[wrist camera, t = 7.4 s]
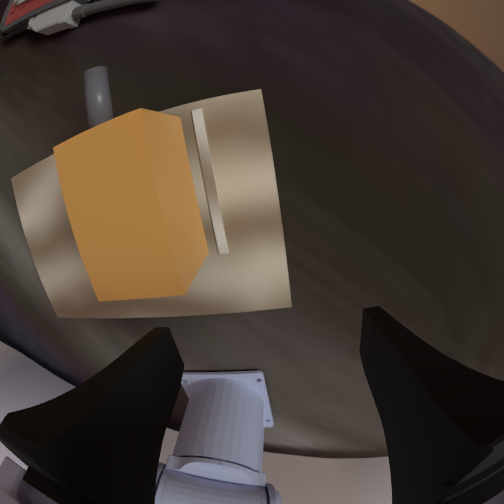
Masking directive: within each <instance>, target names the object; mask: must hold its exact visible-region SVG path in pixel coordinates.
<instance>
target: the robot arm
mask: <svg viewBox="0 0 504 504" xmlns="http://www.w3.org/2000/svg"><path fill="white" fill-rule="evenodd" d="M359 351H360V355H361V360H362V364H363V368H364V372H365V376H366V378H367V381H368V384H369V387H370V390H371V392H372V395H373V398H374V401H375V404H376V406H377V409H378V412H379V415H380V418H381V421H382V425H383V429H384V433H385V439H386V444H387V450H388V457H389V464H390V472H391V484H392V504H504V381H501V380H498V379H495V378H492V377H490V376H487V375H484V374H482V373H480V372H477V371H475V370H473V369H471V368H468V367H466V366H464V365H462V364H460V363H459V362H457V361H455V360H453V359H451V358H450V357H448V356H446V355H444V354H443V353H441V352H439V351H438V350H436V349H435V348H433V347H432V346H430V345H429V344H427V343H426V342H425V341H423V340H422V339H420V338H419V337H418V336H416V335H415V334H414V333H412V332H411V331H410V330H408V329H407V328H406V327H405V326H403V325H402V324H401V323H399V322H398V321H397V320H396V319H394V318H393V317H392V316H391V315H389V314H388V313H387V312H386V311H384V310H383V309H382V308H381V307H379V306H377V307H371V308H365V309H363V316H362V329H361V341H360V350H359ZM183 370H184V363H183V361H182V358H181V356H180V354H179V351H178V349H177V346H176V344H175V342H174V339H173V337H172V334H171V331H170V329H169V327H160V328H154V329H153V330H151V331H150V332H148V333H147V334H146V335H145V336H143V337H142V338H141V339H140V340H139V341H137V342H136V343H135V344H134V345H133V346H131V347H130V348H129V349H128V350H127V351H125V352H124V353H123V354H122V355H121V356H119V357H118V358H117V359H116V360H114V361H113V362H112V363H111V364H109V365H108V366H107V367H105V368H104V369H103V370H101V371H100V372H99V373H97V374H96V375H95V376H93V377H92V378H90V379H89V380H87V381H85V382H84V383H82V384H81V385H79V386H77V387H76V388H74V389H72V390H70V391H68V392H66V393H64V394H62V395H60V396H58V397H56V398H54V399H52V400H49V401H47V402H44V403H42V404H39V405H36V406H33V407H30V408H26V409H23V410H19V411H15V412H11V413H8V414H7V415H6V416H5V418H4V419H3V421H2V422H1V424H0V441H1V442H2V443H3V444H4V445H5V446H6V447H7V448H8V449H9V450H10V451H11V452H12V453H13V454H14V455H16V456H17V457H18V458H19V459H20V460H21V461H22V462H24V463H25V464H26V465H27V466H28V469H27V471H26V470H25V469H23V468H22V467H20V466H19V465H18V464H16V463H15V462H14V461H13V460H11V459H10V458H9V457H5V459H4V461H3V462H2V464H1V466H0V504H282V503H281V498H280V494H279V492H278V491H277V490H276V489H275V487H274V486H273V485H272V484H268V483H265V479H266V474H265V473H260V472H261V469H262V458H263V441H264V427H272V426H273V425H274V422H273V417H272V413H271V408H270V403H269V398H268V393H267V389H266V384H265V379H264V374H263V372H262V371H259V370H255V371H235V372H183ZM181 384H182V386H183V388H184V390H185V392H186V394H187V396H188V398H189V401H188V404H187V408H186V411H185V414H184V418H183V421H182V424H181V428H180V431H179V435H178V438H177V442H176V445H175V449H174V452H173V455H169V457H168V460H167V463H166V464H163V463H159V457H160V452H161V446H162V441H163V437H164V434H165V430H166V427H167V425H168V422H169V419H170V416H171V413H172V410H173V407H174V404H175V401H176V398H177V395H178V392H179V389H180V386H181Z"/></svg>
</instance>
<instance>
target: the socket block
mask: <svg viewBox="0 0 504 504" xmlns="http://www.w3.org/2000/svg"><path fill="white" fill-rule="evenodd" d="M83 79H84V91H85V101H86V109H87V117H88V124H89V130H87V131H85V132H82V133H80V134H78V135H76V136H74V137H72V138H70V139H68V140H66V141H65V142H63V143H61V144H59V145H57V146H55V147H53V150H54V156H55V161H56V167H57V172H58V176H59V181H60V185H61V190H62V194H63V198H64V202H65V206H66V210H67V213H68V217H69V220H70V224H71V227H72V230H73V234H74V237H75V240H76V243H77V246H78V249H79V252H80V255H81V258H82V260H83V263H84V266H85V269H86V271H87V274H88V276H89V279H90V281H91V284H92V286H93V289H94V291H95V294H96V296H97V298H98V301H116V300H130V299H144V298H156V297H168V296H179V295H186V293H187V291H188V289H189V287H190V285H191V284H192V282H193V280H194V278H195V276H196V274H197V272H198V271H199V269H200V267H201V265H202V263H203V262H204V260H205V258H206V256H207V254H208V253H209V250H208V245H207V241H206V237H205V233H204V229H203V224H202V220H201V215H200V211H199V207H198V202H197V197H196V193H195V188H194V184H193V179H192V174H191V169H190V164H189V159H188V154H187V149H186V144H185V139H184V134H183V128H182V123H181V117H177V116H173V115H169V114H164V113H160V112H156V111H151V110H146V109H142V108H140V109H137V110H134V111H131V112H129V113H126V114H124V115H121V116H119V117H116V118H113V111H112V104H111V97H110V89H109V80H108V70H107V67H105V66H98V67H94V68H91V69H89V70H87V71H85V72H84V74H83Z"/></svg>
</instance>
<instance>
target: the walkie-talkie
mask: <svg viewBox="0 0 504 504" xmlns="http://www.w3.org/2000/svg"><path fill="white" fill-rule="evenodd" d="M90 1H91V0H10V2H9V4H8V6H7V9H6V11H5V13H4V16H3V18H2V21H1V24H0V29H1V30H2V32H3V33H2V35H1V38H2V39H5V40H6V39H9V38H11V37H12V36H14V35H17V34H20V32H23V31H26V29H30V30H34V31H36V32H38V33H42V34H45V35H50V34H53V33H56V32H59V31H62V30H65V29H68V28H70V29H72V28H75V27H78V25H79V22H80V20H81V19H82V18H85V17H87V16H89V15H90V14H94V13H98V12H102V11H106V10H110V9H115V8H120V7H125V6H127V5H132V4H138V3H144V2H151V1H157V0H102V1H98V2H95V3H91V4H89V3H90ZM7 33H9V34H7Z"/></svg>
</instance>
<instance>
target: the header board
mask: <svg viewBox="0 0 504 504" xmlns="http://www.w3.org/2000/svg"><path fill="white" fill-rule="evenodd" d="M160 113H164V114H169V115H173V116H177V117H181V123H182V128H183V134H184V139H185V144H186V149H187V154H188V159H189V164H190V169H191V174H192V179H193V184H194V188H195V193H196V197H197V202H198V207H199V211H200V215H201V220H202V224H203V229H204V233H205V237H206V241H207V245H208V250H209V253H208V254H207V256H206V258H205V260H204V262H203V263H202V265H201V267H200V269H199V271H198V272H197V274H196V276H195V278H194V280H193V282H192V284H191V285H190V287H189V289H188V291H187V293H186V295H179V296H168V297H156V298H144V299H130V300H116V301H98V298H97V296H96V294H95V291H94V289H93V286H92V284H91V281H90V279H89V276H88V274H87V271H86V269H85V266H84V263H83V260H82V258H81V255H80V252H79V249H78V246H77V243H76V240H75V237H74V234H73V230H72V227H71V224H70V220H69V217H68V213H67V210H66V206H65V202H64V198H63V194H62V190H61V185H60V181H59V176H58V172H57V167H56V161H55V156H54V154H53V155H51V156H49V157H48V158H46V159H44V160H42V161H40V162H38V163H37V164H35V165H33V166H31V167H30V168H28V169H26V170H24V171H23V172H21V173H19V174H18V175H16V176H15V177H13V178H11V180H12V185H13V190H14V195H15V199H16V203H17V208H18V212H19V216H20V219H21V223H22V227H23V230H24V233H25V237H26V240H27V243H28V246H29V249H30V252H31V255H32V258H33V261H34V263H35V266H36V269H37V271H38V274H39V277H40V279H41V282H42V284H43V286H44V289H45V291H46V293H47V296H48V298H49V300H50V302H51V305H52V307H53V309H54V311H55V313H56V315H57V317H58V318H150V317H175V316H194V315H210V314H224V313H236V312H248V311H259V310H269V309H279V308H288V307H292V305H291V295H290V286H289V277H288V268H287V260H286V251H285V243H284V235H283V228H282V220H281V213H280V205H279V198H278V191H277V184H276V177H275V170H274V164H273V157H272V151H271V144H270V138H269V132H268V126H267V120H266V114H265V108H264V103H263V97H262V91H261V89H259V90H252V91H246V92H240V93H234V94H229V95H224V96H219V97H214V98H210V99H205V100H201V101H197V102H193V103H189V104H185V105H181V106H177V107H174V108H170V109H167V110H163V111H160Z"/></svg>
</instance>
